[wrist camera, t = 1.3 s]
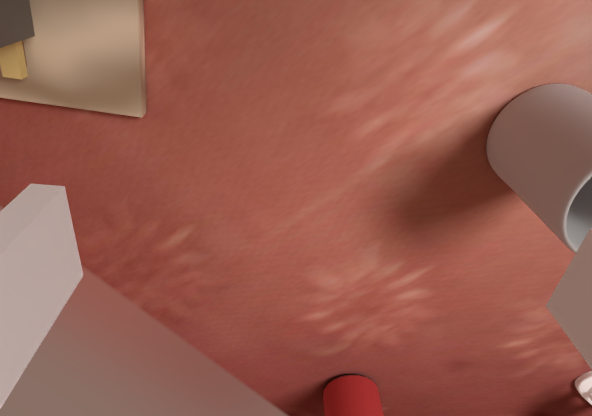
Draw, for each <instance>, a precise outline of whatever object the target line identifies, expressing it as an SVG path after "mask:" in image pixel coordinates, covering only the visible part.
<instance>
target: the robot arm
mask: <svg viewBox="0 0 592 416" xmlns="http://www.w3.org/2000/svg"><path fill="white" fill-rule="evenodd" d="M82 277H83V272H82V267H81V262H80V257H79V252H78V248H77V243H76V238H75V233H74V229H73V224H72V219H71V214H70V210H69V205H68V200H67V195H66V191H65V186H55V185H42V184H30V185H29V186H28V187H27V188H26V189H24V190H23V191H22V192H21V193H20V194H19V195H18V196H17V197H16V198H15V199H14V200H12V201H11V202H10V203H9V204H8V205H7V206H6V207H5V208H4V209H3V210H2V211H0V408H1V407H2V405H3V403H4V402H5V401H6V399H7V397H8V396H9V394H10V393H11V391H12V389H13V388H14V386H15V384H16V383H17V381H18V380H19V378H20V376H21V375H22V373H23V372H24V370H25V368H26V366H27V365H28V363H29V362H30V360H31V359H32V357H33V355H34V354H35V352H36V351H37V349H38V347H39V346H40V344H41V342H42V341H43V339H44V338H45V336H46V334H47V333H48V331H49V330H50V328H51V327H52V325H53V323H54V322H55V320H56V319H57V317H58V315H59V314H60V312H61V310H62V309H63V307H64V306H65V304H66V302H67V301H68V299H69V298H70V296H71V294H72V293H73V291H74V290H75V288H76V286H77V285H78V283H79V282H80V280H81V278H82ZM546 307H547V308H548V310H549V311H550V312H551V314H552V315H553V317H554V318H555V319H556V321H557V322H558V324H559V325H560V326H561V328H562V329H563V330H564V332H565V333H566V335H567V336H568V337H569V339H570V340H571V341H572V343H573V344H574V346H575V347H576V348H577V350H578V351H579V353H580V354H581V355H582V357H583V358H584V359H585V361H586V362H587V364H588V365H589V366H590V368H591V369H592V229H590V230H589V231H588V233H587V235H586V237H585V238H584V240H583V242H582V244H581V245H580V247H579V249H578V250H577V252H576V254H575V256H574V257H573V259H572V261H571V263H570V264H569V266H568V268H567V270H566V271H565V273H564V275H563V277H562V278H561V280H560V282H559V284H558V285H557V287H556V289H555V291H554V292H553V294H552V296H551V297H550V299H549V301H548V303H547V304H546Z"/></svg>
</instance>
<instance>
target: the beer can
mask: <svg viewBox="0 0 592 416" xmlns="http://www.w3.org/2000/svg"><path fill="white" fill-rule="evenodd" d="M323 404H324V416H384V415H383V411H382V406H381V401H380V396H379V392H378V388H377V386H376V384H375V383H374V382H373V381H372V380H370V379H369V378H367V377H365V376H361V375H344V376H340V377H338V378H335V379H333V380H332V381H331V382H330V383H328V384H327V386H326V387H325V389H324V392H323Z"/></svg>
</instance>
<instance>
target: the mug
mask: <svg viewBox="0 0 592 416" xmlns="http://www.w3.org/2000/svg"><path fill="white" fill-rule="evenodd" d="M486 151H487V157H488V161H489V163H490V165H491V167H492V169H493V170H494V172H495V173H496V174H497V175H498V176H499V177H500V178H501V179H502V180H503V181H504V182H505V183H506V184H507V185H508V186H509V187H510V188H511V189H512V190H513V191H514V192H515V193H516V194H517V195H518V196H519V197H520V198H521V199H522V200H523V201H524V202H525V203H526V204H527V205H528V207H529V208H530V209H531V210H532V211H533V212H534V213H535V214H536V215H537V216H538V217H539V218H540V219H541V220H542V221H543V222H544V223H545V224H546V225H547V226H548V227H549V229H550V230H551V231H552V232H553V233H554V234H555V235H556V236H557V237H558V238H559V239H560V240H561V241H562V242H563V243H564V244H565V245H566V246H567V247H568V248H569V249H570V250H571V251H573V252H574V253H576V252H577V250H578V249H579V247H580V245H581V244H582V242H583V240H584V238H585V237H586V235H587V233H588V231H589V230H590V229H592V94H591V93H589V92H588V91H586V90H583V89H581V88H579V87H576V86H573V85H569V84H561V83H554V84H546V85H541V86H538V87H535V88H532V89H530V90H528V91H526V92H524V93H522V94H521V95H519V96H518V97H516V98H515V99H513V100H512V101H511V102H510V103H509V104H508V105H506V107H505V108H504V109H503V110H502V111H501V112H500V113H499V115H498V116H497V117H496V119H495V121H494V122H493V124H492V126H491V129H490V131H489V134H488V138H487V144H486Z"/></svg>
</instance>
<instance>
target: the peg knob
mask: <svg viewBox="0 0 592 416" xmlns="http://www.w3.org/2000/svg"><path fill="white" fill-rule="evenodd" d="M34 36H35V33H34V27H33V20H32V14H31V7H30V1H29V0H0V66H1V71H2V76H3V77H8V78H15V79H21V80H22V79H24V78H26V77H28V74H27V68H26V62H25V56H24V50H23V44H22V40H25V39H28V38H31V37H34Z"/></svg>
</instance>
